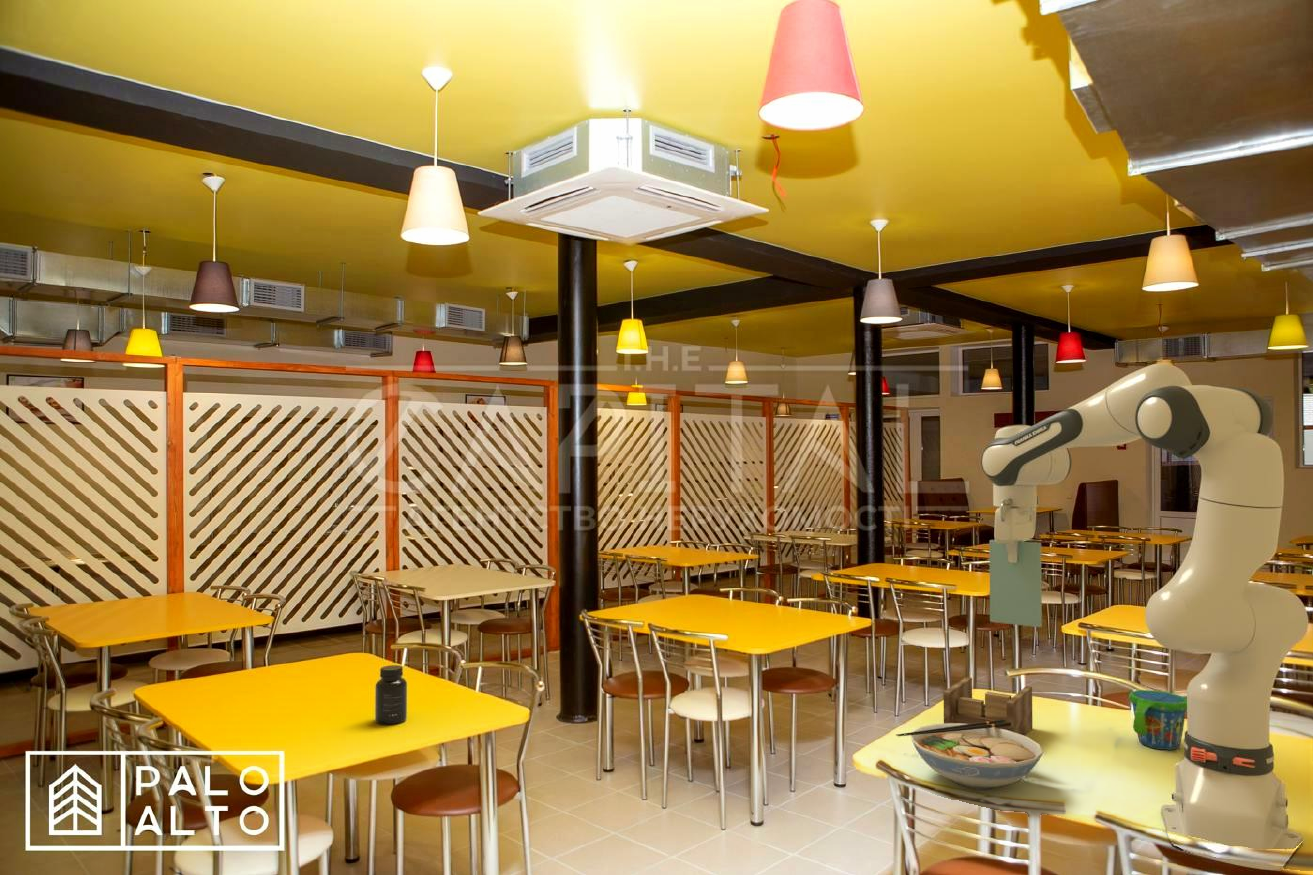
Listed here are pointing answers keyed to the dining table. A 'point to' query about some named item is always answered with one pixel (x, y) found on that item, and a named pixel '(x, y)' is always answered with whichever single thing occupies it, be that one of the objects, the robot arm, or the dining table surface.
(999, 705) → the tall oak offcut
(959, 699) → the short oak offcut
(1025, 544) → the tall panel
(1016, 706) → the walnut rack
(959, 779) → the ramen bowl
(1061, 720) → the dining table surface
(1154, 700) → the snack cup
